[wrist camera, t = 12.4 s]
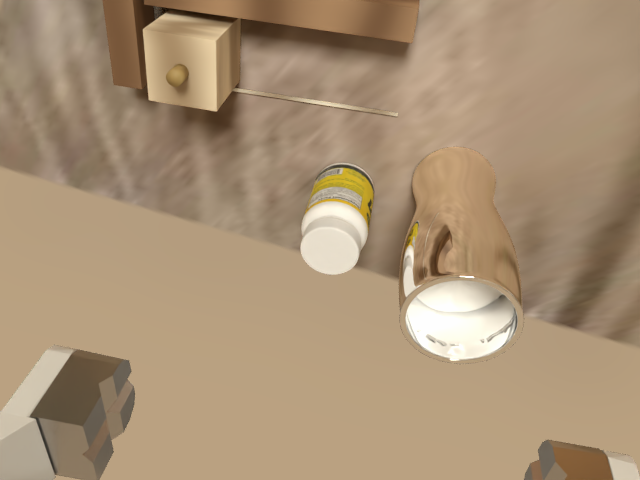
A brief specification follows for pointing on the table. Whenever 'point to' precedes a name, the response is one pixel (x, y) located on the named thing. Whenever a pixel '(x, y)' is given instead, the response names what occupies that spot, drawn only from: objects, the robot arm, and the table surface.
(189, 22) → the block
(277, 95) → the fence board
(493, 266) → the beer glass
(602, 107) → the table surface
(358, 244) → the supplement bottle
